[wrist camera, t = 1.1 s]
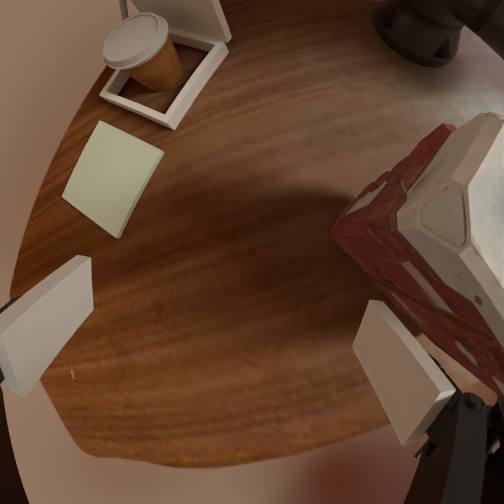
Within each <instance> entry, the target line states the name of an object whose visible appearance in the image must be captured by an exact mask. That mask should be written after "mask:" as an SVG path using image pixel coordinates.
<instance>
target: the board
mask: <svg viewBox="0 0 504 504" xmlns="http://www.w3.org/2000/svg"><path fill="white" fill-rule="evenodd" d="M164 153H165V152H163V151H161V150H159V149H158V148H156V147H154V146H152V145H150V144H148V143H146V142H144V141H142V140H140V139H138V138H136V137H134V136H131V135H129V134H127V133H125V132H123V131H121V130H119V129H117V128H115V127H113V126H111V125H109V124H107V123H105V122H102V121H99V122H98V124H97V126H96V128H95V129H94V131H93V133H92V135H91V137H90V139H89V140H88V142H87V144H86V146H85V148H84V150H83V152H82V154H81V156H80V158H79V160H78V162H77V164H76V166H75V168H74V170H73V172H72V174H71V176H70V179H69V181H68V183H67V185H66V188H65V190H64V192H63V195H62V197H63V198H64V199H65V200H66V201H68V202H69V203H70V204H71V205H73V206H74V207H75V208H77V209H78V210H79V211H81V212H82V213H83V214H84V215H86V216H87V217H88V218H90V219H91V220H92V221H94V222H95V223H96V224H98V225H99V226H100V227H102V228H103V229H104V230H106V231H107V232H109V233H110V234H111V235H113V236H114V237H115V238H120V237H121V235H122V232H123V230H124V228H125V226H126V224H127V222H128V220H129V218H130V216H131V214H132V212H133V210H134V208H135V206H136V204H137V202H138V200H139V198H140V196H141V194H142V192H143V190H144V188H145V187H146V185H147V183H148V181H149V179H150V177H151V176H152V174H153V172H154V170H155V168H156V167H157V165H158V163H159V161H160V160H161V158H162V156H163V154H164Z"/></svg>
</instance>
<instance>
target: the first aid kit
mask: <svg viewBox="0 0 504 504" xmlns="http://www.w3.org/2000/svg"><path fill="white" fill-rule="evenodd" d="M333 226H334V227H333V228H332V229H331V230H330V233H331V237H332V238H333V240H334V241H335V242H336V243H337V244H338V246H339V247H340V248H341V249H342V250H343V251H344V252H345V253H346V254H348V255H349V256H350V257H351V258H352V259H353V260H354V261H355V262H356V263H357V264H358V265H359V266H360V267H361V268H362V269H363V270H364V271H365V272H366V273H367V274H368V275H369V277H368V279H369V280H370V281H371V282H372V283H373V284H374V285H375V286H376V287H377V288H378V289H379V290H380V291H381V292H382V293H383V294H384V295H385V296H386V297H387V298H388V299H389V300H390V301H391V303H392V304H393V305H394V306H395V307H396V308H397V309H398V310H400V311H401V312H403V313H404V314H406V315H407V316H408V317H409V318H410V319H411V321H412V322H413V323H414V324H415V325H416V326H417V327H418V328H419V329H420V330H421V332H422V333H423V334H424V335H425V336H427V337H428V338H429V339H430V340H431V341H432V342H433V343H434V344H435V345H436V346H437V347H439V348H440V349H441V350H443V351H444V352H445V353H446V354H448V355H449V356H450V357H452V358H453V359H454V360H455V361H457V362H458V363H459V364H460V365H462V366H463V367H464V368H465V369H467V370H468V371H469V372H470V373H472V374H473V375H474V376H475V377H477V378H478V379H479V380H480V381H482V382H483V383H484V384H486V386H488V387H489V388H490V389H491V390H493V391H494V392H495V393H496V394H497V400H498V399H499V398H500V397H501V396H504V116H503V115H500V114H497V113H493V112H488V113H480V114H479V115H477V116H476V117H474V118H473V119H471V120H470V121H469V122H467V123H466V124H464V125H463V126H461V127H460V128H458V129H457V128H456V127H455V126H454V125H450V124H445V123H442V124H441V125H440V126H439V127H437V128H436V129H435V130H434V131H432V132H431V133H430V134H429V135H427V136H426V137H425V138H424V139H422V140H421V141H420V142H419V143H418V145H417V146H416V147H415V149H414V150H413V151H412V152H411V154H410V155H409V156H407V157H406V158H404V159H403V160H402V161H400V162H399V163H398V164H396V166H395V167H394V168H393V169H392V170H391V172H389V171H387V172H385V173H384V174H383V175H381V176H380V177H379V178H378V179H377V180H376V181H375V182H372V183H370V184H369V185H368V186H366V187H365V189H364V190H363V191H362V192H361V193H360V194H359V195H358V197H357V198H356V199H355V200H354V201H353V202H351V203H349V204H348V205H347V206H346V207H345V209H344V210H343V211H342V212H341V213H340V214H339V215H338V219H337V220H336V222H335V223H334V224H333Z"/></svg>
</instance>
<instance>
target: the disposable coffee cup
mask: <svg viewBox="0 0 504 504" xmlns="http://www.w3.org/2000/svg"><path fill="white" fill-rule="evenodd" d="M102 53H103V56H104V60H105V63H106V64H107V65H108V66H109V67H111V68H113V69H119V70H121V71H122V72H124V73H125V74H127V75H129V76H130V77H132V78H134V79H135V80H137V81H138V82H140V83H141V84H143V85H145V86H146V87H148V88H149V89H151V90H152V91H155V92H162V91H166V90H168V89H170V88H172V87H173V86H175V85H176V84H177V83H178V82H179V80H180V79H181V77H182V74H183V67H182V65H181V62H180V60H179V57H178V55H177V52H176V50H175V48H174V45H173V43H172V41H171V38H170V36H169V33H168V24H167V22H166V20H165V19H164V18H163V17H161V16H158V15H156V14H154V13H151V12H144V13H138V14H135V15H132V16H130V17H128V18H126V19H124V20H123V21H121V22H120V23H119V24H118V25H116V26H115V27H114V29H112V30H111V31H110V33H109V34H108V36H107V37H106V39H105V41H104V44H103V47H102Z"/></svg>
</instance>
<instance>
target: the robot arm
mask: <svg viewBox="0 0 504 504" xmlns="http://www.w3.org/2000/svg"><path fill="white" fill-rule="evenodd" d="M374 25H375V28H376V30H377V32H378V33H379V35H380V36H381V38H382V39H383V40H384V41H385V42H386V43H387V44H388V45H389V46H390V47H391V48H392V49H393V50H395V51H396V52H397V53H399V54H400V55H402V56H403V57H405V58H407V59H409V60H411V61H413V62H415V63H418V64H420V65H424V66H428V67H442V66H445V65H447V64H448V63H449V62H450V61H451V60H452V59H453V58H454V56H455V55H456V53H457V50H458V45H459V40H460V34H461V29H462V28H463V26H464V25H465V26H467V27H468V28H469V29H470V30H471V31H473V32H474V33H475V34H476V35H477V36H479V37H480V38H481V39H482V40H483V41H484V42H485V43H486V44H488V45H489V46H490V47H491V48H492V49H493V50H494V51H495V52H496V53H497V54H498V55H499V56H500V57H501V58H502V59H503V60H504V0H382V1H381V2H380V3H379V4H378V6H377V8H376V11H375V14H374ZM93 310H94V309H93V295H92V276H91V257H86V256H81V255H77V256H75V257H74V258H72V259H71V260H70V261H68V262H67V263H65V264H64V265H63V266H61V267H60V268H58V269H57V270H56V271H54V272H53V273H52V274H50V275H49V276H48V277H46V278H45V279H44V280H42V281H41V282H40V283H38V284H37V285H36V286H34V287H33V288H32V289H31V290H29V291H28V292H27V293H25V294H24V295H21V296H19V297H16V298H14V299H12V300H10V301H9V302H8V303H7V304H6V305H4V307H2V308H1V309H0V384H1V382H2V381H3V380H4V379H5V381H6V384H7V386H8V388H9V391H11V392H13V393H14V394H16V395H18V396H21V397H23V398H26V397H27V395H28V394H29V392H30V391H31V389H32V388H33V387H34V385H35V384H36V382H37V381H38V380H39V378H40V377H41V375H42V374H43V373H44V371H45V370H46V369H47V367H48V366H49V365H50V363H51V362H52V361H53V359H54V358H55V357H56V355H57V354H58V353H59V352H60V350H61V349H62V348H63V346H64V345H65V344H66V343H67V341H68V340H69V339H70V338H71V336H72V335H73V334H74V333H75V331H76V330H77V329H78V328H79V326H80V325H81V324H82V323H83V322H84V320H85V319H86V318H87V317H88V316H89V314H90V313H91V312H92V311H93ZM352 348H353V350H354V352H355V354H356V356H357V357H358V359H359V361H360V363H361V365H362V367H363V369H364V371H365V373H366V375H367V377H368V378H369V380H370V382H371V384H372V386H373V388H374V390H375V392H376V394H377V396H378V398H379V400H380V402H381V404H382V406H383V408H384V410H385V412H386V414H387V416H388V418H389V420H390V422H391V424H392V426H393V428H394V430H395V432H396V434H397V437H398V439H399V441H400V443H401V445H402V446H404V445H409V444H414V443H417V442H418V441H419V440H420V439H421V438H422V436H423V435H424V434H425V433H427V435H428V437H429V439H428V440H427V442H426V443H425V444H424V445H423V446H422V448H421V449H420V450H419V451H418V452H417V453H416V455H415V456H414V457H416V458H417V456H418V455H419V454H420V453H422V454H421V458H420V461H419V464H418V467H417V470H416V473H415V475H414V478H413V481H412V484H411V486H410V489H409V492H408V494H407V497H406V499H405V501H404V504H504V396H501V397H500V398H499V399H498V400H497V402H496V403H495V405H494V406H488V405H486V404H485V403H484V401H483V400H482V399H481V398H480V397H479V396H477V395H475V394H473V393H469V392H467V393H462V392H461V391H460V389H459V388H458V387H457V386H456V384H455V383H454V382H453V380H452V379H451V378H450V377H449V375H448V374H446V372H445V370H444V369H443V368H441V365H440V364H439V363H438V362H437V360H436V359H435V358H433V357H432V356H431V355H429V354H428V353H427V352H426V351H425V350H424V349H423V348H422V346H421V345H420V344H419V343H418V342H417V340H416V339H415V338H414V337H413V336H412V334H411V333H410V332H409V331H408V330H407V329H406V327H405V326H404V325H403V324H402V323H401V321H400V320H399V319H398V318H397V317H396V316H395V315H394V313H393V312H392V311H391V310H390V309H389V308H388V307H387V305H386V304H385V303H384V302H383V301H378V300H369V302H368V305H367V308H366V311H365V314H364V316H363V319H362V322H361V324H360V327H359V330H358V332H357V335H356V337H355V340H354V342H353V345H352ZM498 441H499V442H500V447H499V448H498V449H497V450H496V451H495V452H494V453H492V448H493V447H494V446H495V444H496V443H497V442H498ZM0 504H29V502H28V499H27V496H26V493H25V490H24V488H23V484H22V481H21V478H20V475H19V471H18V468H17V464H16V461H15V457H14V453H13V449H12V445H11V440H10V436H9V430H8V425H7V420H6V413H5V407H4V399H3V392H2V389H1V386H0Z"/></svg>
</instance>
